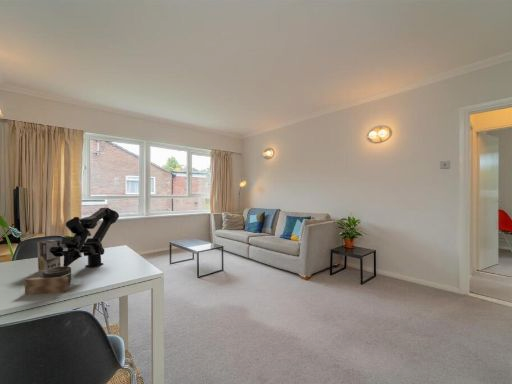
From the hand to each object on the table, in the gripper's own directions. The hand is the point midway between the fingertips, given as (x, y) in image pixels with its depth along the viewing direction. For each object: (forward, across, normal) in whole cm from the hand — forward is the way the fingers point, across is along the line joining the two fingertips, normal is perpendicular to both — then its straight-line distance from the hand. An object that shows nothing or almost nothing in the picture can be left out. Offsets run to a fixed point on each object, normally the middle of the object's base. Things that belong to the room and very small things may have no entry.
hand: (64, 266), depth 113 cm
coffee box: (-7, -20, +18) cm, 27 cm away
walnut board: (+13, 0, -2) cm, 13 cm away
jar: (+9, 0, +2) cm, 9 cm away
